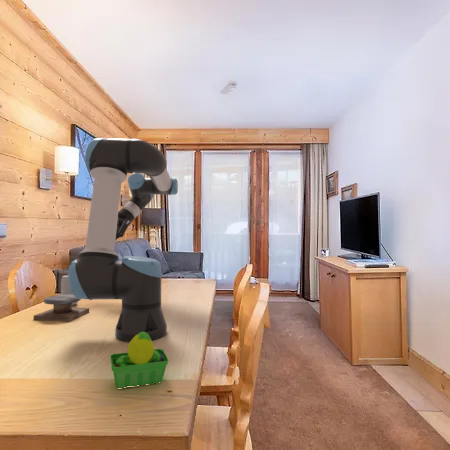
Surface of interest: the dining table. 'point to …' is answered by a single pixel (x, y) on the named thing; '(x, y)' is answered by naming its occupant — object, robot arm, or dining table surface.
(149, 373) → the fruit basket
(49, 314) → the pedestal stand
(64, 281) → the beverage can
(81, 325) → the dining table surface
